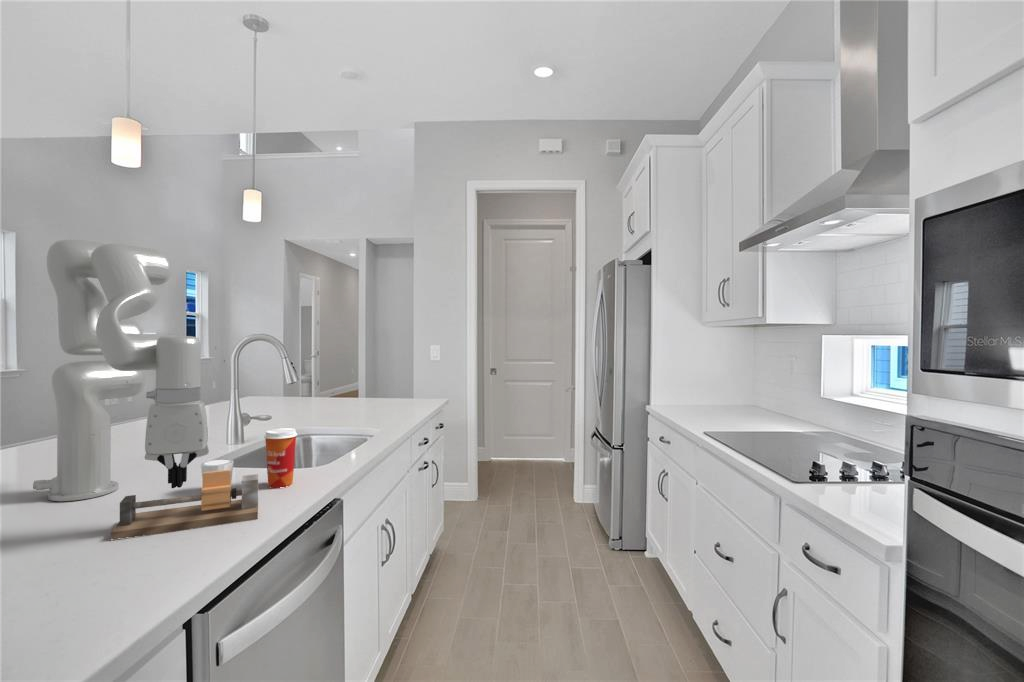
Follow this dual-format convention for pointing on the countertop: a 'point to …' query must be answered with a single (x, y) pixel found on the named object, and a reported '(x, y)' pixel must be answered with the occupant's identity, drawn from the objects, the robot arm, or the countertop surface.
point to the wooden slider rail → (185, 512)
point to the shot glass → (217, 466)
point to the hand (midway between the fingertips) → (177, 485)
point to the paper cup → (280, 456)
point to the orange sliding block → (216, 490)
